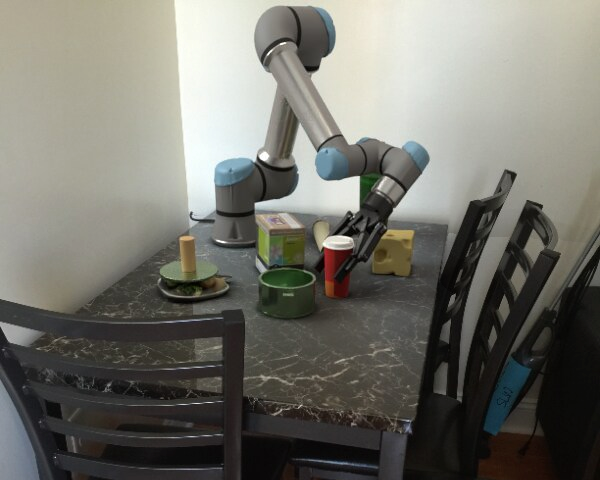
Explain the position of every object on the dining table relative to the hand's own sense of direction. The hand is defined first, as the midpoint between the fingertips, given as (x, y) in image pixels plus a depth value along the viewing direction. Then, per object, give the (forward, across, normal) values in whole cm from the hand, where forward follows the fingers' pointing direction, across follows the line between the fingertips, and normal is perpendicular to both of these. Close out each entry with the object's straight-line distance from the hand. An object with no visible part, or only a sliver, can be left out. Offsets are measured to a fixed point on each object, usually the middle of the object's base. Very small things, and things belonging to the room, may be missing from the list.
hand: (326, 275), depth 159 cm
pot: (+12, -1, +4) cm, 13 cm away
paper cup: (+2, 0, -6) cm, 7 cm away
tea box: (+5, +20, -3) cm, 20 cm away
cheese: (-15, +7, -24) cm, 29 cm away
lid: (+19, +22, +18) cm, 34 cm away
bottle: (-27, +34, -35) cm, 56 cm away
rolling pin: (-12, +32, -20) cm, 39 cm away
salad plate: (+23, +22, +15) cm, 35 cm away
